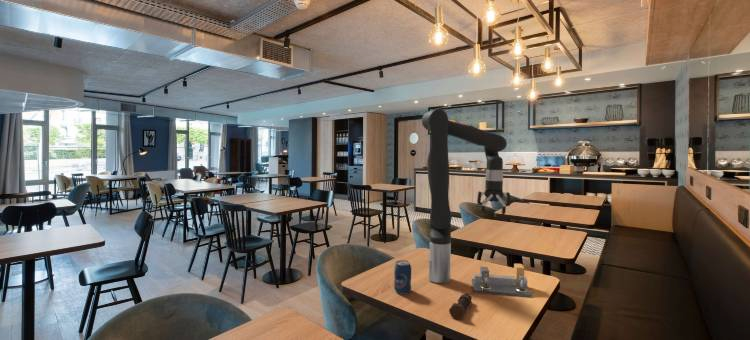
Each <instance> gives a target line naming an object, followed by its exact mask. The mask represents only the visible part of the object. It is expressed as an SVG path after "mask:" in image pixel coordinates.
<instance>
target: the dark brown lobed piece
mask: <svg viewBox="0 0 750 340" xmlns="http://www.w3.org/2000/svg"><path fill="white" fill-rule="evenodd" d="M472 298H473V297H472V296H471V295H470V294H468V293H464V294H461V295H460V296H459V298H458V300H457V303H456V302H454V303H453V304H452V305H451V307H450V308H449V309H448V312H449V314H450V316H451V319H454V320H458V321H462V320H463V318H464V317H465V316H466V314H467V312H466V309H468V308H469V307H470V306H471V304H472V303H473V302H472Z"/></svg>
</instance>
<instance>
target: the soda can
mask: <svg viewBox="0 0 750 340" xmlns="http://www.w3.org/2000/svg"><path fill="white" fill-rule="evenodd" d="M393 270H394V273H393V276H394V277H393V279H394V280H393V281H394V286H393V288H394V290H395V292H396V293H397V294H400V295H407V294H409V293H410V291H411V290H412V265H411V262H410V261H408V260H396V262H395V264H394V269H393Z"/></svg>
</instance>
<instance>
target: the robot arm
mask: <svg viewBox="0 0 750 340" xmlns="http://www.w3.org/2000/svg"><path fill="white" fill-rule="evenodd" d="M421 125H422V126H423V128H424V129H425V130H426V131H429V132H430V141H431V142H430V147H429V148H430V149H429V152H428V156H427V163H426V168H427V179H428V186H429V191H430V192H429V193H430V198H431V199H430V202H431V204H430V213H429V258H428V261H429V262H428V263H429V264H428V281H429V282H433V283H436V284H447V283H449V282H450V281H451V254H452V253H451V251H452V250H451V247H452V246H451V245H452V234H451V233H452V232H451V231H452V228H451V227H452V226H451V225H452V213H451V207H450V201H449V189H450V162H449V146H448V140H449V139H448V138H449V137H448V136H451V137H454V138H457V139H459V140H463V141H466V142H467V143H470V144H473V145H477V146H481V147H483V150H484V155H485V158H486V167H485V168H486V169H485V170H486V171H485V183H484V184H485V186H484V191H480V190H479V191H478V192H477V198H476V199H477V200H476V201H477V202H476V203H477V205H478V206H480V212H481V213H482V215H485V211H486V210H485V209H486V206H485V205H487V203H488V202H495V203H497V202H499V203H500V204H501V216H505V214H506V210H507V208H506V207H508V206H510V205H511V194H510V192H508V191H506V192H504V191H503V189H504V188H503V186H504V185H503V183H504V182H503V181H504V171H503V168H504V167H503V165H504V161H503V158H502V157H501V156H500V155H499V152H502V151H504V150H505V149H506V148H507V144H508V143H507V140H506V138H505V137H503V136H502V135H499V134H496V133H493V132H488V131H485V130H483V129H481V128H478V127H475V126H473V125H468V124H464V123H459V122H455V121H452V120H449V116H448V113H447V112H446V111H445V110H444V109H443V108H434V109H432V110H428V111H427V112H425V113H424V114H423V115H422V118H421ZM483 196H485V198H484V199H483V200H482V197H483ZM503 196H504V197H505V199H506V200H505V201H506V202H504V201H503V199H502V198H503ZM481 200H482V201H481Z"/></svg>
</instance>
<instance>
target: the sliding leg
mask: <svg viewBox="0 0 750 340" xmlns="http://www.w3.org/2000/svg"><path fill="white" fill-rule="evenodd" d="M525 270H526V269H525V267H524V265H523V264H522V263H514V264H513V276H515V278H516V279H519V280H521V288H522V287H523V280H524V277H525Z"/></svg>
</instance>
